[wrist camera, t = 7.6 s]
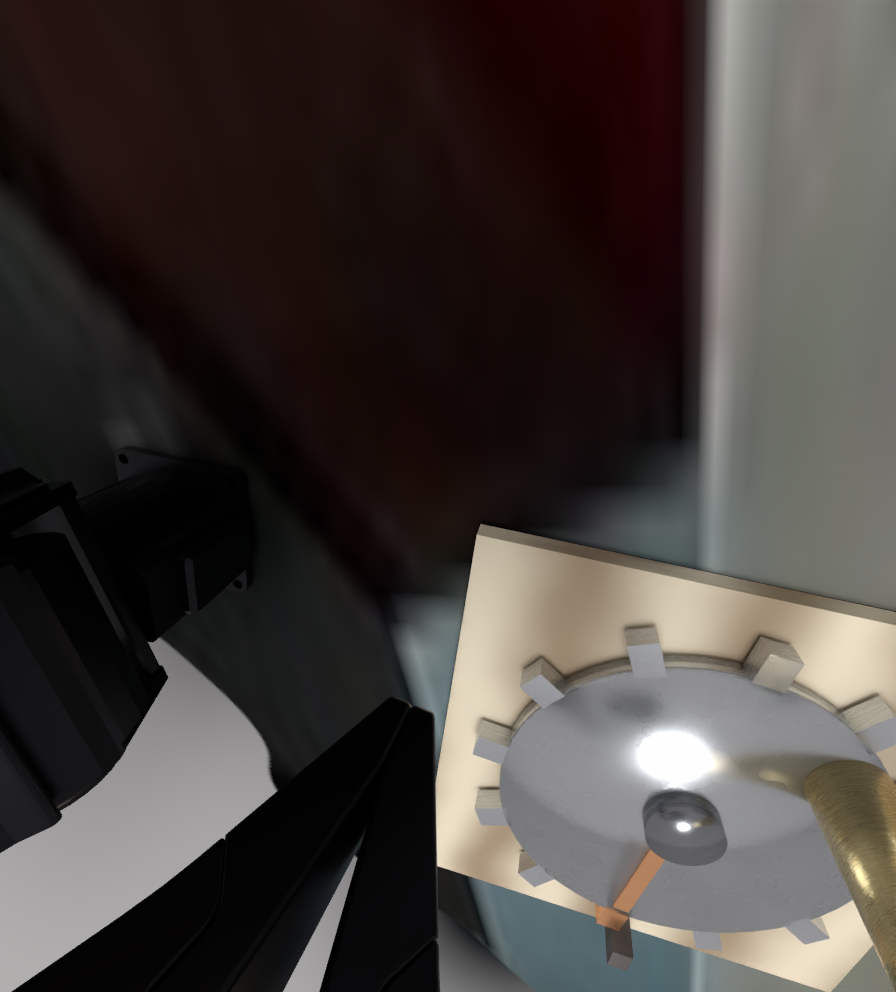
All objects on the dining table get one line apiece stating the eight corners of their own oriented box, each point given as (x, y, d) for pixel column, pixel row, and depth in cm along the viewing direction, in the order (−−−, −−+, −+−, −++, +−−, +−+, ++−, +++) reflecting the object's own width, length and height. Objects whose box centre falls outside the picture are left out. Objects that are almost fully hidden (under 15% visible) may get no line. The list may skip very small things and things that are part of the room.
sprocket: (406, 703, 24) (276, 1037, 14) (829, 561, 17) (1255, 1024, 6) (584, 939, 28) (592, 1339, 18) (983, 903, 21) (1402, 1533, 11)
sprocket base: (426, 843, 30) (413, 898, 28) (480, 523, 21) (467, 559, 18) (821, 968, 27) (849, 1045, 24) (1089, 653, 18) (1182, 720, 15)
